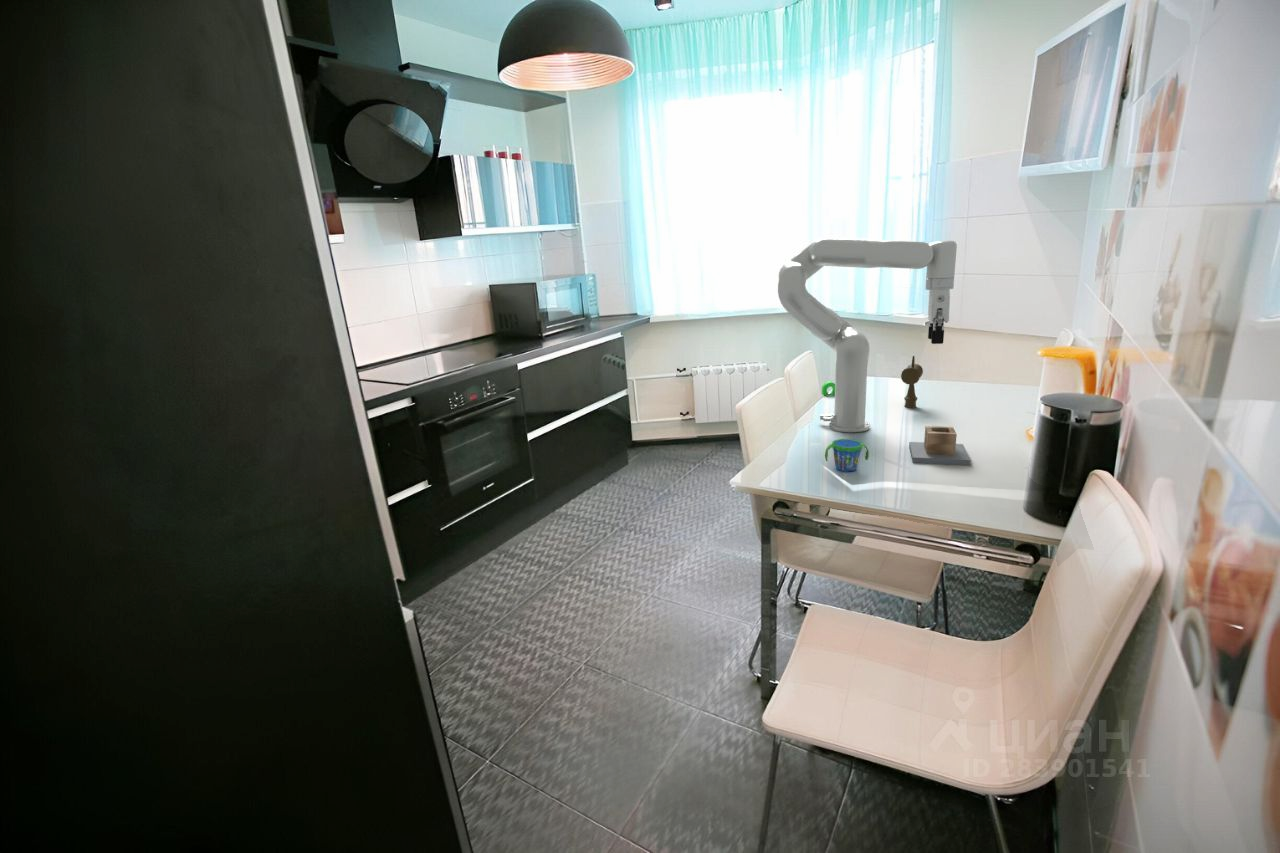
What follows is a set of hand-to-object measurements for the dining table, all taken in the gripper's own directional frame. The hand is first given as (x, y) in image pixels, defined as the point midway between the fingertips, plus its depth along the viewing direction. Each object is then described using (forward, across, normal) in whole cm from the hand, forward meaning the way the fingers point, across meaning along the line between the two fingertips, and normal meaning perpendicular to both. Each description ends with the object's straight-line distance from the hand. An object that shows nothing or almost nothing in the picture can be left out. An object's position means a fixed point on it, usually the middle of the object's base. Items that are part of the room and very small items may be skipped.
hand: (935, 341), depth 178 cm
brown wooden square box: (+27, -26, 0) cm, 37 cm away
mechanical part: (+29, +33, +28) cm, 52 cm away
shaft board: (+28, -26, 0) cm, 38 cm away
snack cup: (+28, -41, +24) cm, 55 cm away
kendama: (+28, +22, +4) cm, 36 cm away
